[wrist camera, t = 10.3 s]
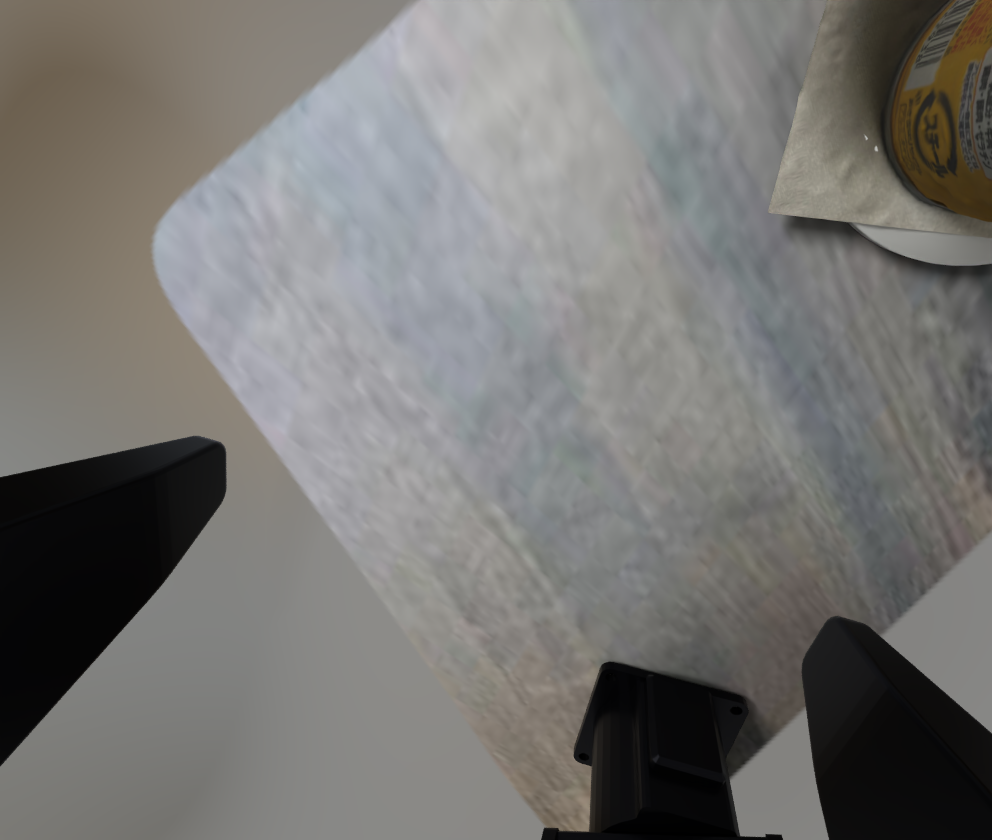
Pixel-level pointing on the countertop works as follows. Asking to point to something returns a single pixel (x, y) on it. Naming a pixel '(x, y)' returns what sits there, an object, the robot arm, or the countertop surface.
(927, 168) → the condiment
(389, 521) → the countertop surface
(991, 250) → the coaster
